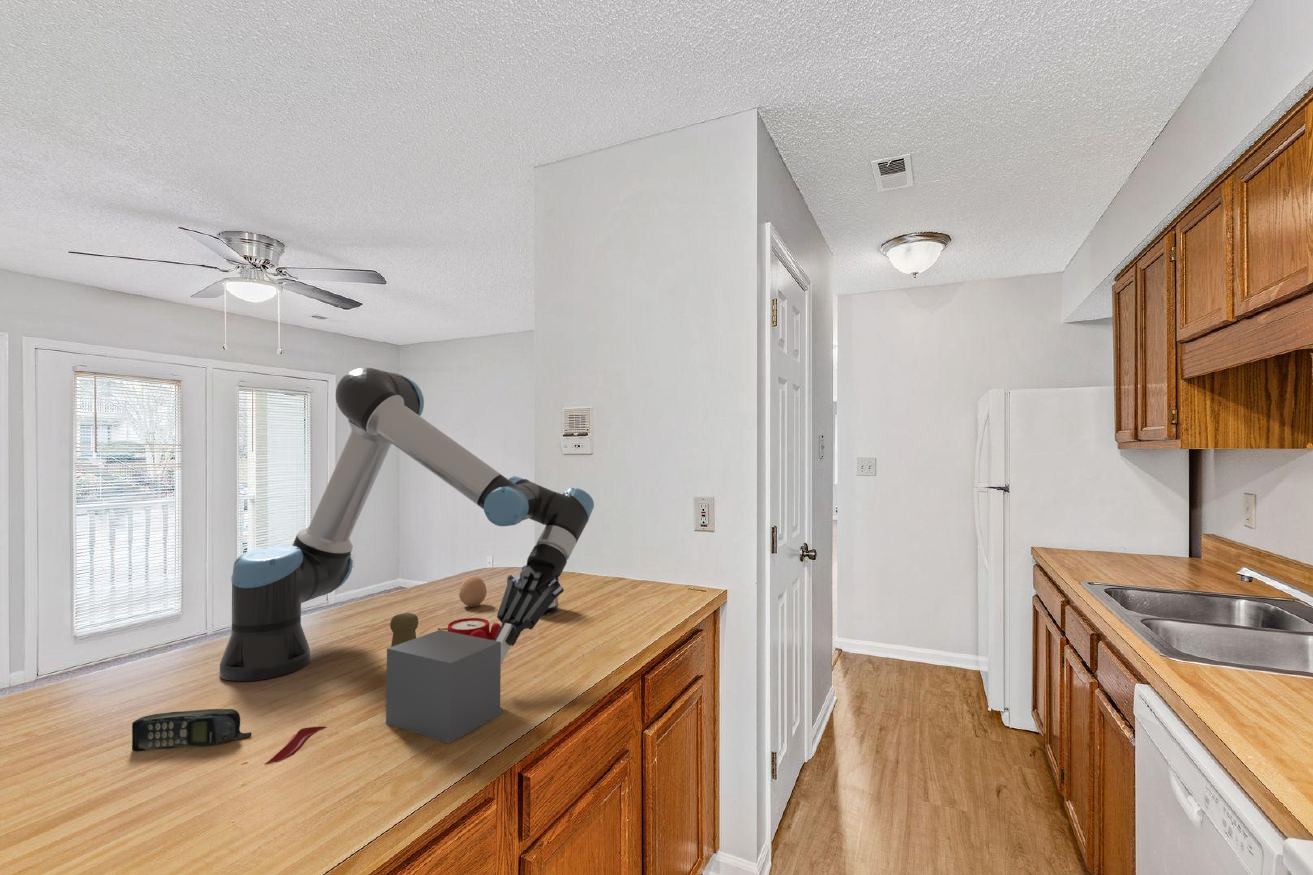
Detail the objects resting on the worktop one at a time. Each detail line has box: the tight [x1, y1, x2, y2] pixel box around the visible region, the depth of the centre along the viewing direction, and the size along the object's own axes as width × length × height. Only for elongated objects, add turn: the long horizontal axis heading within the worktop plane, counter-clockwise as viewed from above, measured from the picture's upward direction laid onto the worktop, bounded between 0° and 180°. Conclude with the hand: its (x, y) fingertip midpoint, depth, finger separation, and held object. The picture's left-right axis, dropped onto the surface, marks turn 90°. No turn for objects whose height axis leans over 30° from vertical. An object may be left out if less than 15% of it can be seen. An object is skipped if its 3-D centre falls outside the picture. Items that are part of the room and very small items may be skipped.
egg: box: [458, 575, 488, 608], centre depth 164 cm, size 7×7×8 cm
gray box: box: [385, 629, 502, 744], centre depth 96 cm, size 11×14×12 cm
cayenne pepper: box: [263, 726, 328, 765], centre depth 88 cm, size 12×5×2 cm, turn 159°
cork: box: [389, 612, 419, 647], centre depth 117 cm, size 6×6×11 cm
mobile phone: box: [131, 708, 253, 752], centre depth 88 cm, size 5×3×15 cm
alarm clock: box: [437, 617, 502, 641], centre depth 135 cm, size 10×6×15 cm
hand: (494, 659), depth 107 cm, fingers closed
